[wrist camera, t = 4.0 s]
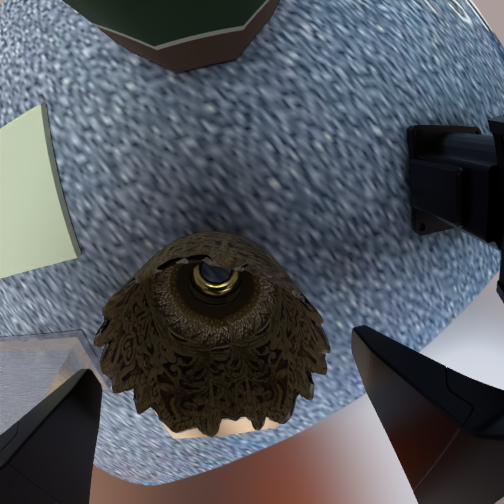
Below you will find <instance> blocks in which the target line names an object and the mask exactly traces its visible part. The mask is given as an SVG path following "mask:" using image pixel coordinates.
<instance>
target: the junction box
mask: <svg viewBox="0 0 504 504" xmlns="http://www.w3.org/2000/svg"><path fill="white" fill-rule="evenodd" d="M80 369H91V370H92V371H93V372H94V374H95V376H96V377H97V379H98V380H99V382H100V383H101V385H102V390H110V387H111V385H112V382H111V380H110V378H109V377H108V376H106V375H103V374H102V372H101V368H100V362H99V360H98V359H97V357H96V355H95V353H94V352H93V350H92V348H91V346H90V345H89V343H88V341H87V339H86V337H85V335H84V333H83V331H82V330H76V331H67V332H57V333H46V334H35V335H22V336H7V337H0V435H1V434H2V433H3V432H5V431H6V430H7V429H8V428H10V427H11V426H12V425H13V424H14V423H16V422H17V421H18V420H20V418H22V417H23V416H24V415H25V414H26V413H28V412H29V411H30V410H31V409H32V408H34V407H35V406H36V405H37V404H38V403H40V402H41V401H42V400H43V399H44V398H46V397H47V396H48V395H49V394H51V393H52V392H53V391H54V390H55V389H57V388H58V387H59V386H60V385H61V384H63V383H64V382H65V381H66V380H68V379H69V378H70V377H71V376H72V375H74V374H75V373H76V372H77V371H79V370H80Z"/></svg>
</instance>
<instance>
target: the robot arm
mask: <svg viewBox="0 0 504 504" xmlns="http://www.w3.org/2000/svg"><path fill="white" fill-rule="evenodd" d="M488 123H489V128H490V132H492V134H493V136H487V135H482V134H481V131H480V129H479V128H477V127H464V126H440V125H412V126H410V127H409V129H408V141H409V151H410V174H411V194H412V206H413V231H414V232H415V233H417V234H419V235H426V234H430V233H434V232H438V231H443V230H447V229H451V228H457V229H459V230H461V231H463V232H465V233H467V234H468V235H470V236H472V237H474V238H476V239H478V240H480V241H482V242H484V243H485V244H487V245H489V246H491V247H493V248H495V249H496V250H498V251H500V252H501V261H500V274H499V280H498V281H497V289H496V290H497V293H498V294H499V296H500V298H501V299H502V301H503V303H504V115H502V116H498V117H494V118H490V119H488ZM415 131H417V133H418V136H417V137H416V136H415ZM475 133H476V134H475ZM421 224H422V227H421V228H420V229H419V227H420V225H421ZM351 349H352V354H353V357H354V359H355V362H356V365H357V368H358V370H359V373H360V376H361V379H362V382H363V385H364V387H365V390H366V392H367V394H368V397H369V398H370V400H371V402H372V405H373V406H374V408H375V410H376V413H377V415H378V417H379V419H380V421H381V423H382V425H383V427H384V429H385V431H386V433H387V435H388V437H389V440H390V442H391V444H392V446H393V448H394V450H395V452H396V454H397V457H398V459H399V461H400V463H401V465H402V468H403V470H404V472H405V474H406V476H407V479H408V481H409V483H410V485H411V488H412V490H413V492H414V495H415V497H416V499H417V502H418V504H504V390H501V389H498V388H495V387H493V386H489V385H487V384H484V383H482V382H479V381H476V380H474V379H472V378H469V377H467V376H465V375H463V374H460V373H458V372H456V371H454V370H452V369H450V368H448V367H447V368H446V367H445V366H444V365H442V364H440V363H438V362H436V361H434V360H432V359H430V358H428V357H426V356H424V355H422V354H420V353H418V352H416V351H414V350H413V349H411V348H409V347H407V346H405V345H403V344H401V343H399V342H397V341H395V340H393V339H391V338H389V337H387V336H385V335H383V334H381V333H379V332H377V331H376V330H374V329H372V328H370V327H368V326H366V325H361V326H358V327H354V328H353V329H352V342H351ZM101 400H102V385H101V383H100V382H99V380H98V379H97V377H96V376H95V374H94V372H93V371H92V370H91V369H80V370H79V371H77V372H76V373H75V374H74V375H72V376H71V377H70V378H69V379H68V380H66V381H65V382H64V383H63V384H61V385H60V386H59V387H58V388H57V389H55V390H54V391H53V392H52V393H51V394H49V395H48V396H47V397H46V398H44V399H43V400H42V401H41V402H40V403H38V404H37V405H36V406H35V407H34V408H32V409H31V410H30V411H29V412H28V413H26V414H25V415H24V416H23V417H22V418H20V420H18V421H17V422H16V423H14V424H13V425H12V426H11V427H10V428H8V429H7V430H6V431H5V432H3V433H2V434H1V435H0V504H89V497H90V485H91V477H92V469H93V461H94V454H95V448H96V441H97V435H98V429H99V422H100V410H101Z"/></svg>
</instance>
